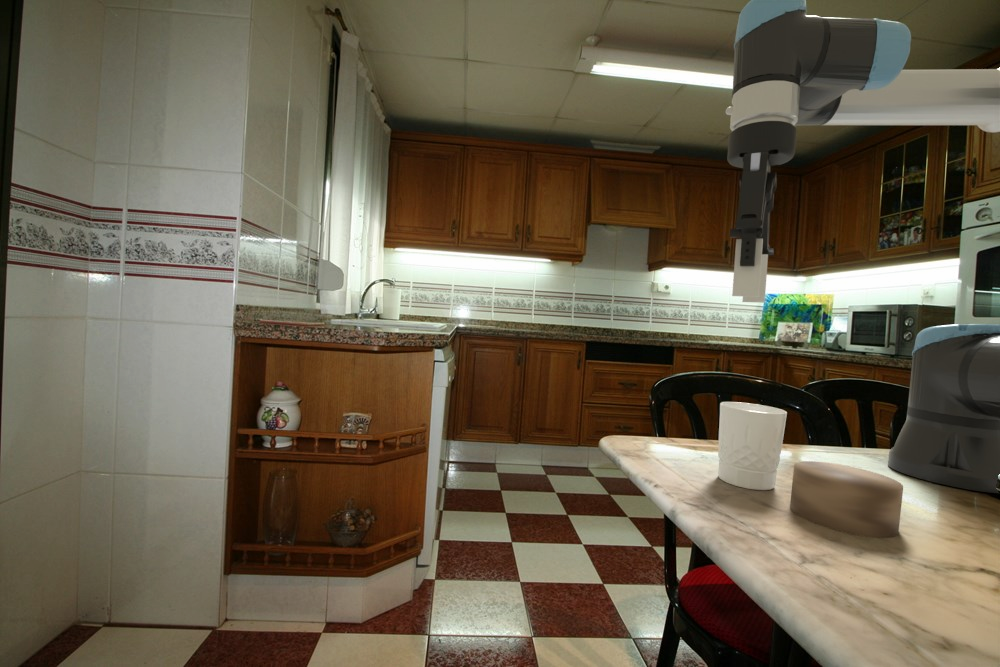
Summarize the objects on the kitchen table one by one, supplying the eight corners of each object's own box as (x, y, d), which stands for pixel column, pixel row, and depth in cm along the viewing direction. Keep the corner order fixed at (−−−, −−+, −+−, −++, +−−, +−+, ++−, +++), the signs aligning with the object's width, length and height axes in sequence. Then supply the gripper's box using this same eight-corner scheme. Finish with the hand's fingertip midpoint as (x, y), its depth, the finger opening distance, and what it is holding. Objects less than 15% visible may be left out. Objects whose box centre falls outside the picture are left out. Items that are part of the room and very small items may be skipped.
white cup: (764, 475, 70) (771, 405, 70) (790, 495, 63) (798, 415, 62) (705, 469, 71) (712, 399, 71) (725, 488, 63) (732, 409, 63)
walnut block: (851, 504, 61) (855, 464, 61) (924, 541, 51) (929, 493, 51) (771, 499, 61) (775, 458, 61) (829, 536, 51) (834, 487, 51)
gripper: (738, 161, 76) (728, 303, 76) (716, 93, 54) (703, 292, 55) (796, 156, 72) (785, 305, 73) (797, 80, 50) (782, 294, 51)
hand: (749, 299), depth 64 cm, fingers open, 13 cm apart
